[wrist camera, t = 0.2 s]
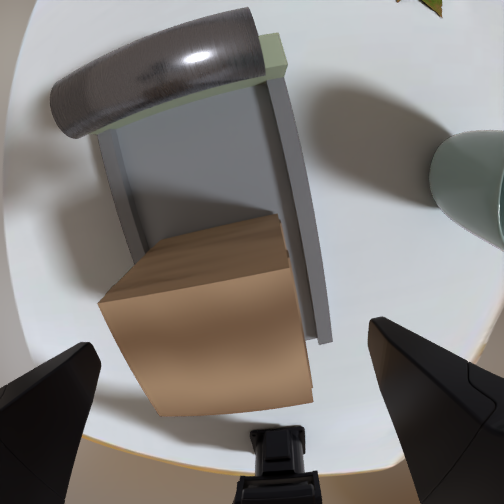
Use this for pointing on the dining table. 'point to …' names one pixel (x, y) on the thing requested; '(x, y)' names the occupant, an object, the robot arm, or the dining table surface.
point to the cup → (472, 183)
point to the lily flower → (433, 5)
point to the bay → (201, 141)
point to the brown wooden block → (213, 322)
